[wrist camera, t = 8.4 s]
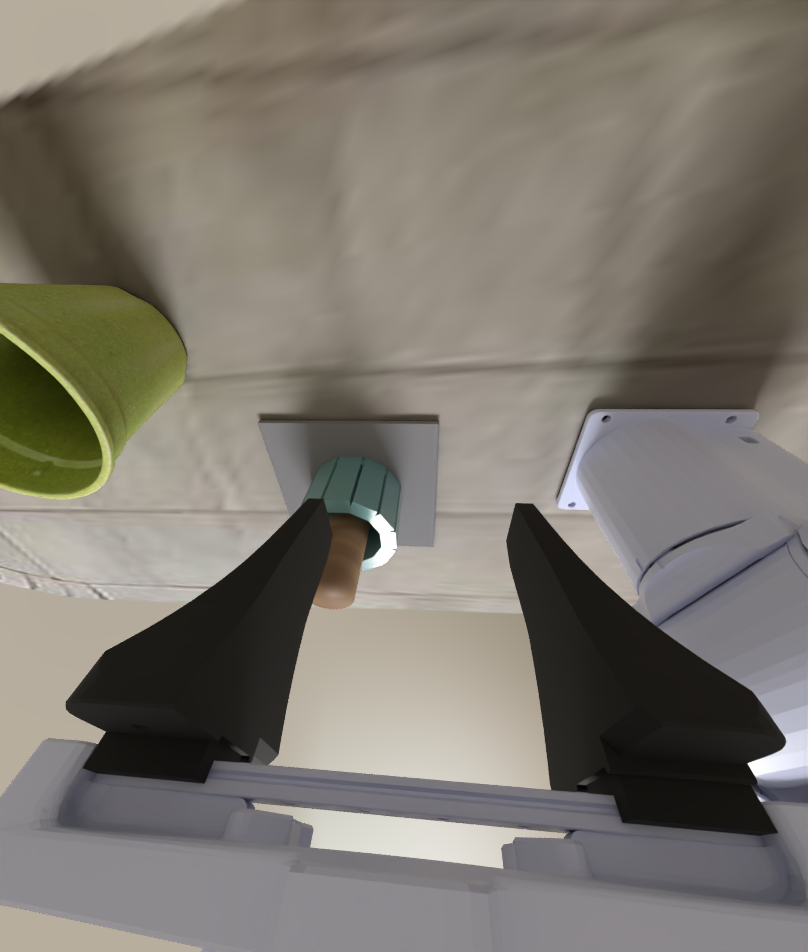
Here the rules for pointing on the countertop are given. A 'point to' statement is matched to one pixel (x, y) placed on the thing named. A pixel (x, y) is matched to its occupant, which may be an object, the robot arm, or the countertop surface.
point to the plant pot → (77, 383)
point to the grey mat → (385, 442)
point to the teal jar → (362, 501)
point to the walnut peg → (342, 561)
